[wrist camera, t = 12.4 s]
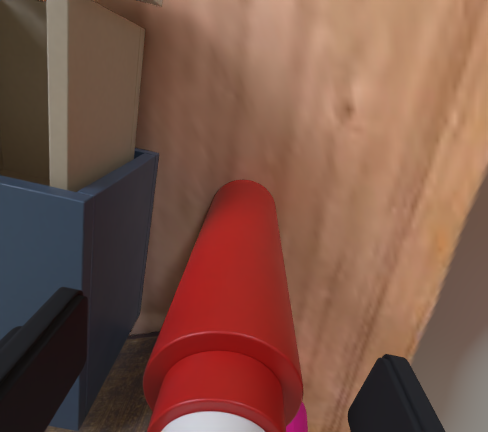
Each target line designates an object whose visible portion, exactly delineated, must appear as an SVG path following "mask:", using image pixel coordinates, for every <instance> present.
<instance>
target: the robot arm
mask: <svg viewBox="0 0 488 432" xmlns="http://www.w3.org/2000/svg"><path fill="white" fill-rule="evenodd" d="M87 314H88V298H87V297H86V296H83V292H82V291H81V290H77V289H72V288H67V287H60V288H59V289H58V290H57V291H56V292H55V293H54V294H53V295H52V296H51V297H50V298H49V299H48V300H47V301H46V302H45V303H44V304H43V305H42V307H41V308H40V309H39V310H38V311H37V312H36V313H35V314H34V315H33V316H32V317H31V318H30V319H29V320H28V321H27V322H26V323H25V324H24V325H23V326H17V327H15V328H13V329H12V330H11V331H9V332H8V333H7V334H6V335H5V336H4V337H3V338H2V339H1V340H0V432H45V430H46V429H47V427H48V425H49V424H50V422H51V420H52V419H53V417H54V415H55V414H56V412H57V410H58V409H59V407H60V406H61V404H62V402H63V401H64V399H65V397H66V396H67V394H68V392H69V391H70V389H71V388H72V386H73V384H74V383H75V381H76V379H77V378H78V376H79V374H80V373H81V371H82V369H83V367H84V365H85V362H86V358H87ZM348 423H349V426H350V430H351V432H445V430H444V428H443V426H442V424H441V423H440V421H439V419H438V417H437V415H436V413H435V411H434V409H433V407H432V406H431V404H430V402H429V400H428V398H427V396H426V394H425V392H424V391H423V389H422V387H421V385H420V383H419V381H418V379H417V377H416V375H415V374H414V372H413V370H412V368H411V366H410V364H409V362H408V361H407V359H405V358H403V357H398V356H394V355H389V354H385V355H384V356H383V357H382V358H378V359H377V361H376V363H375V364H374V366H373V368H372V370H371V371H370V373H369V375H368V377H367V378H366V380H365V382H364V384H363V385H362V387H361V389H360V391H359V392H358V394H357V396H356V398H355V399H354V401H353V403H352V405H351V406H350V408H349V411H348Z"/></svg>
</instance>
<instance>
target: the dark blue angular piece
mask: <svg viewBox="0 0 488 432" xmlns="http://www.w3.org/2000/svg"><path fill="white" fill-rule="evenodd" d="M158 160H159V153H156V152H152V151H147V150H143V149H139V148H135V152H134V159H133V160H132V161H130V162H128V163H126V164H125V165H123V166H121V167H119V168H118V169H116V170H114V171H112V172H110V173H109V174H107V175H105V176H103V177H102V178H100V179H98V180H96V181H95V182H93V183H91V184H89V185H88V186H86V187H84V188H82V189H81V190H79V191H77V192H73V191H69V190H64V189H60V188H55V187H51V186H47V185H42V184H38V183H33V182H29V181H24V180H20V179H15V178H11V177H7V176H2V175H0V340H1V339H2V338H3V337H4V336H5V335H6V334H7V333H8V332H9V331H11V330H12V329H13V328H15V327H17V326H23V325H24V324H25V323H26V322H27V321H28V320H29V319H30V318H31V317H32V316H33V315H34V314H35V313H36V312H37V311H38V310H39V309H40V308H41V307H42V305H43V304H44V303H45V302H46V301H47V300H48V299H49V298H50V297H51V296H52V295H53V294H54V293H55V292H56V291H57V290H58V289H59V288H60V287H67V288H72V289H77V290H81V291H82V292H83V296H86V297H87V298H88V314H87V358H86V362H85V365H84V367H83V369H82V371H81V373H80V374H79V376H78V378H77V379H76V381H75V383H74V384H73V386H72V388H71V389H70V391H69V392H68V394H67V396H66V397H65V399H64V401H63V402H62V404H61V406H60V407H59V409H58V410H57V412H56V414H55V415H54V417H53V419H52V420H51V422H50V424H49V425H48V426H53V427H58V428H63V429H69V430H74V431H79V429H80V427H81V426H82V424H83V422H84V420H85V417H86V416H87V414H88V412H89V410H90V408H91V406H92V405H93V403H94V401H95V399H96V397H97V395H98V393H99V391H100V389H101V387H102V385H103V383H104V382H105V380H106V378H107V376H108V374H109V372H110V370H111V368H112V366H113V364H114V362H115V360H116V359H117V357H118V355H119V353H120V351H121V349H122V347H123V345H124V343H125V341H126V339H127V338H128V336H129V334H130V332H131V330H132V328H133V326H134V324H135V322H136V320H137V319H138V317H139V315H140V309H141V300H142V292H143V284H144V276H145V267H146V259H147V251H148V242H149V234H150V226H151V218H152V209H153V201H154V193H155V184H156V176H157V168H158Z"/></svg>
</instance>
